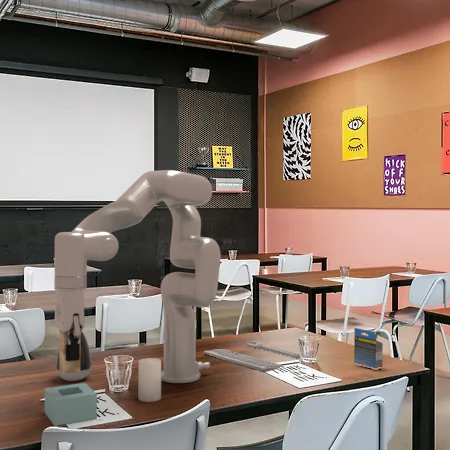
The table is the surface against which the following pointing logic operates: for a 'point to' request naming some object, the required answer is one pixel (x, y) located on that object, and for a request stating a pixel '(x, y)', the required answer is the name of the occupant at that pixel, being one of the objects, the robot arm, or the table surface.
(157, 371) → the white pillar candle
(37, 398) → the table surface
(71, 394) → the bore block
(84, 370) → the dark brown egg shape
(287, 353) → the adjustable wrench
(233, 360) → the keyboard
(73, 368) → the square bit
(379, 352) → the label tape cartridge
